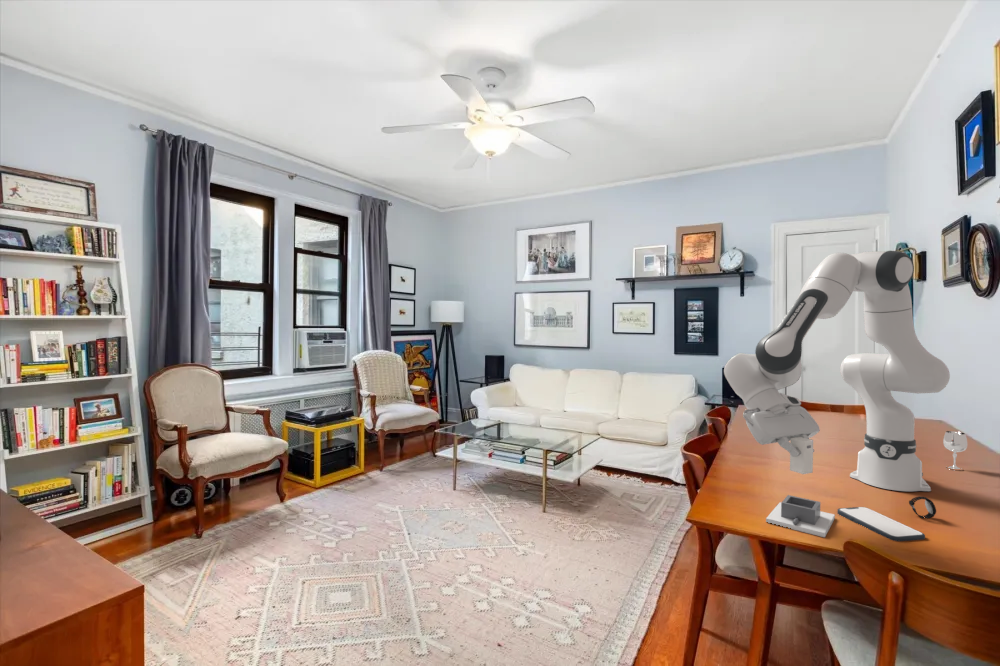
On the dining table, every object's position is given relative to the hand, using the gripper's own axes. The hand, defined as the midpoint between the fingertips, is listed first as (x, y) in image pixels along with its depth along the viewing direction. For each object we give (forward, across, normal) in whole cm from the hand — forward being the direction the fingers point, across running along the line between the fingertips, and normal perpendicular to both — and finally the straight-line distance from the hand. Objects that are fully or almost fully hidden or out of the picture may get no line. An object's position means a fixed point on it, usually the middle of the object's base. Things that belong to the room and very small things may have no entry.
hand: (804, 454), depth 117 cm
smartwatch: (+19, +30, +5) cm, 36 cm away
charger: (+3, 0, +4) cm, 4 cm away
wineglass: (+7, +86, +16) cm, 88 cm away
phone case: (+18, +15, +6) cm, 24 cm away
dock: (+11, 0, +12) cm, 17 cm away
